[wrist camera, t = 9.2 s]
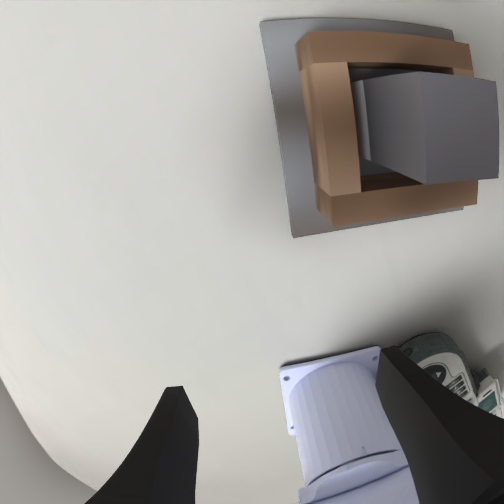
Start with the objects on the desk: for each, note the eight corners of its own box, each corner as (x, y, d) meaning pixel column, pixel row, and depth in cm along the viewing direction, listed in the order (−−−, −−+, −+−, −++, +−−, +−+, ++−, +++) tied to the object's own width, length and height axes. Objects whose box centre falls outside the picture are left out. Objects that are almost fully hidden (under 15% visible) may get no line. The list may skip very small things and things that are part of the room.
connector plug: (416, 150, 16) (498, 178, 10) (355, 154, 16) (425, 184, 10) (411, 83, 15) (495, 81, 8) (347, 82, 15) (418, 71, 8)
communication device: (460, 287, 22) (525, 352, 14) (491, 397, 30) (520, 442, 22) (344, 374, 25) (377, 461, 16) (419, 449, 33) (441, 498, 25)
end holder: (459, 207, 18) (490, 225, 15) (291, 234, 19) (304, 261, 15) (447, 31, 13) (481, 24, 10) (259, 24, 14) (266, 3, 10)
